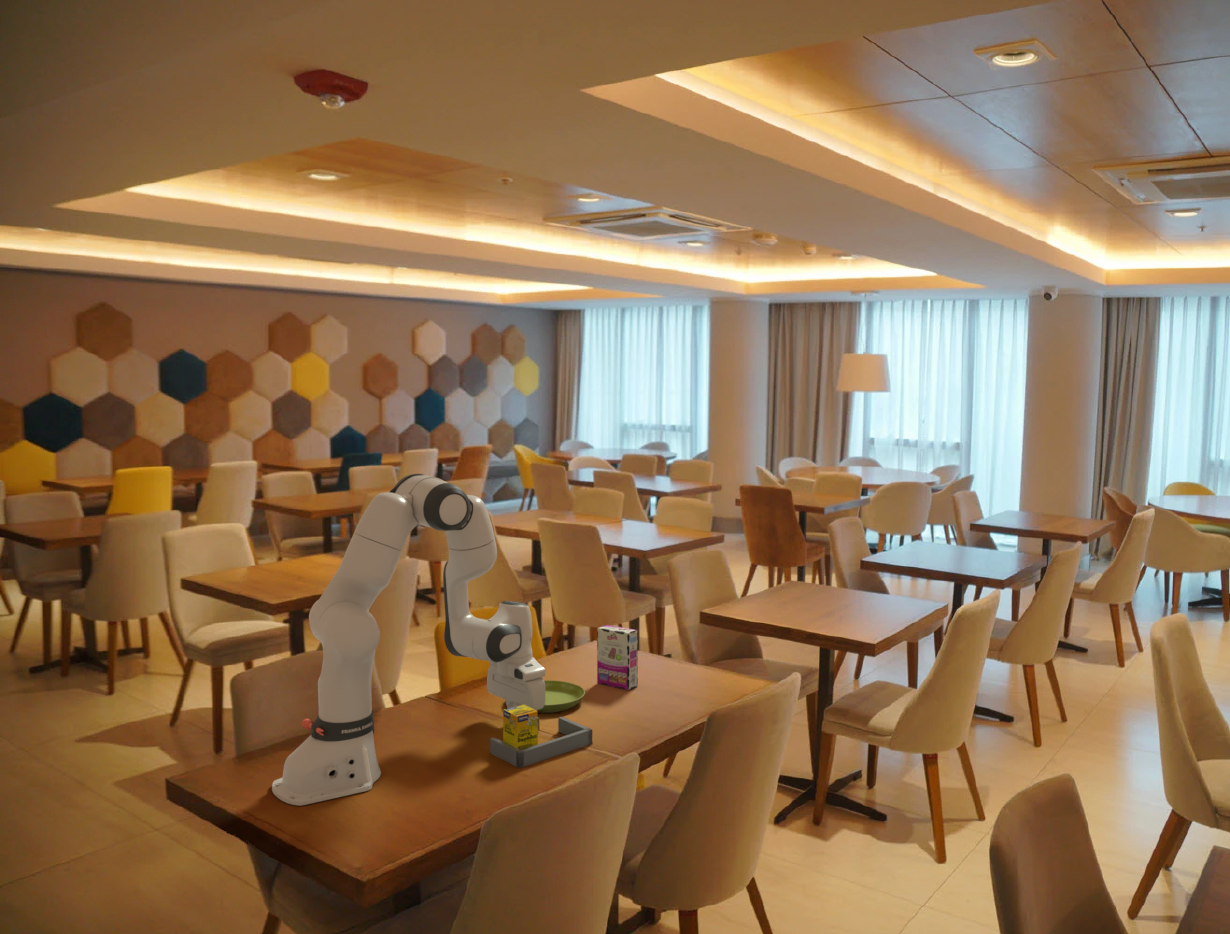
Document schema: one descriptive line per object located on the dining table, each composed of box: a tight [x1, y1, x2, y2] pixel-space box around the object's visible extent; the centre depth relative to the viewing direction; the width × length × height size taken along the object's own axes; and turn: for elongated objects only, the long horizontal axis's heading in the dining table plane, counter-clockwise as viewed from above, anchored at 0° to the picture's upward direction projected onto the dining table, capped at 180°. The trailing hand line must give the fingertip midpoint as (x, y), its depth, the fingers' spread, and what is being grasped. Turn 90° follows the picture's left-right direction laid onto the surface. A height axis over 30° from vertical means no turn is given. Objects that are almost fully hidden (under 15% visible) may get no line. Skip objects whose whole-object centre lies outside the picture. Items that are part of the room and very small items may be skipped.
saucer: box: [537, 679, 586, 714], centre depth 252 cm, size 21×21×3 cm
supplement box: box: [502, 705, 539, 750], centre depth 215 cm, size 6×6×11 cm
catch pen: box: [489, 716, 593, 769], centre depth 220 cm, size 21×11×4 cm, turn 132°
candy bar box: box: [596, 624, 639, 691], centre depth 266 cm, size 11×5×16 cm, turn 55°
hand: (515, 718), depth 235 cm, fingers closed
